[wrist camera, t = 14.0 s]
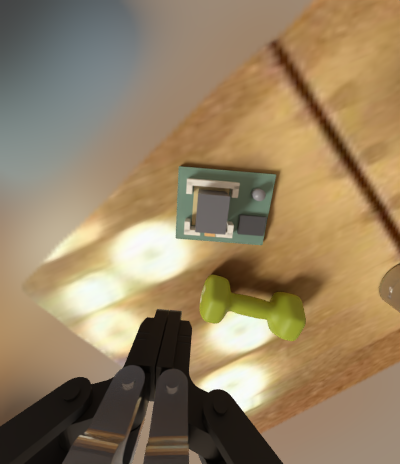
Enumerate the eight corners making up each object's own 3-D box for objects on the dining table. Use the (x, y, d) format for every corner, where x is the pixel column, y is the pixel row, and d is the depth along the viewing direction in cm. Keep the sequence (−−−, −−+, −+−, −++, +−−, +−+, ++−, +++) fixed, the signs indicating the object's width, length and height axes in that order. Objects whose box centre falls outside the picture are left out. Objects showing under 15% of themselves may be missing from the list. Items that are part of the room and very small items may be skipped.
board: (273, 174, 29) (281, 175, 26) (260, 242, 33) (266, 250, 30) (179, 166, 29) (177, 166, 26) (176, 236, 32) (174, 243, 30)
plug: (225, 191, 29) (230, 196, 24) (221, 226, 31) (224, 238, 26) (198, 189, 29) (198, 193, 24) (195, 224, 31) (194, 235, 26)
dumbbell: (295, 285, 35) (318, 314, 29) (278, 319, 38) (294, 353, 31) (208, 263, 34) (210, 287, 27) (196, 299, 37) (195, 330, 30)
